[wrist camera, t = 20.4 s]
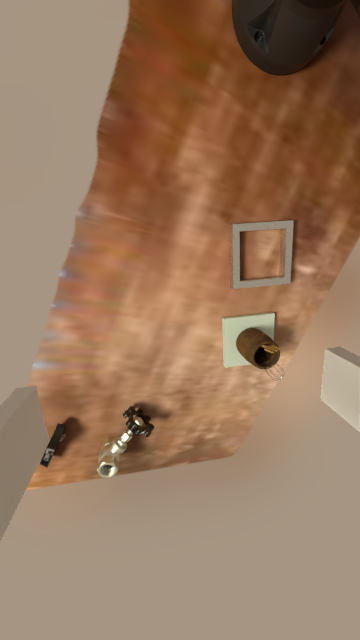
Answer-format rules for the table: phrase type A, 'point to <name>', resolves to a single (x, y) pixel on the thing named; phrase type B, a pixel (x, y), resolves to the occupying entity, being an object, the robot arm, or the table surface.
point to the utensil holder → (258, 349)
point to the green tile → (235, 327)
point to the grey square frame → (284, 253)
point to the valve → (122, 442)
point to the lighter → (53, 444)
